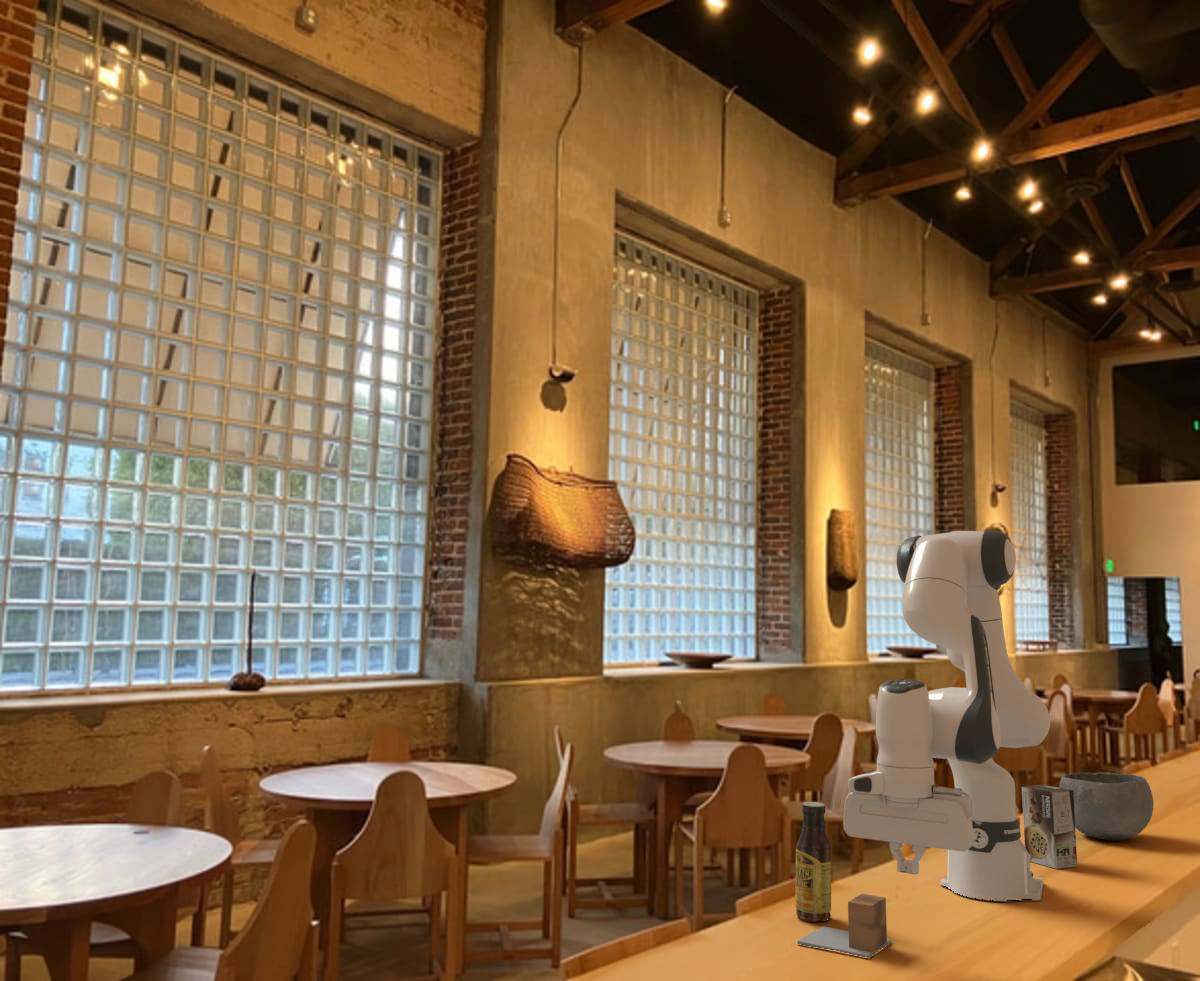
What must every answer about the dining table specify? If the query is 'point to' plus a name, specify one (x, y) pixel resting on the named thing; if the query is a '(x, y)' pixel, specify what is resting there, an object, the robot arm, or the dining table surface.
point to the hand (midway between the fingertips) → (908, 872)
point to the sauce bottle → (813, 866)
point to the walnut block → (867, 922)
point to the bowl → (1110, 804)
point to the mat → (835, 941)
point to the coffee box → (1049, 825)
